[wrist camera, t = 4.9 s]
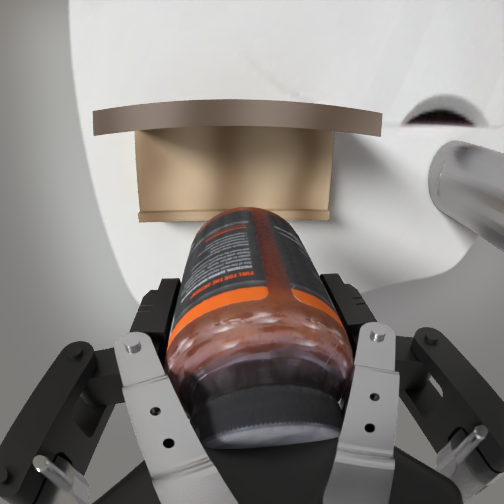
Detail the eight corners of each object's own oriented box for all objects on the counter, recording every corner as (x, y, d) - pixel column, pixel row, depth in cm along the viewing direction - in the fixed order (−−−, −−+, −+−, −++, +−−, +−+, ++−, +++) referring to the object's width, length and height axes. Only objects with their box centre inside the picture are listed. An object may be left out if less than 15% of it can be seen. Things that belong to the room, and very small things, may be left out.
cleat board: (326, 111, 25) (382, 113, 15) (319, 209, 30) (363, 259, 20) (142, 111, 24) (92, 111, 14) (147, 211, 28) (110, 263, 18)
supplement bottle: (170, 269, 16) (114, 465, 6) (232, 179, 14) (233, 354, 4) (257, 318, 18) (281, 502, 8) (323, 244, 16) (425, 423, 6)
